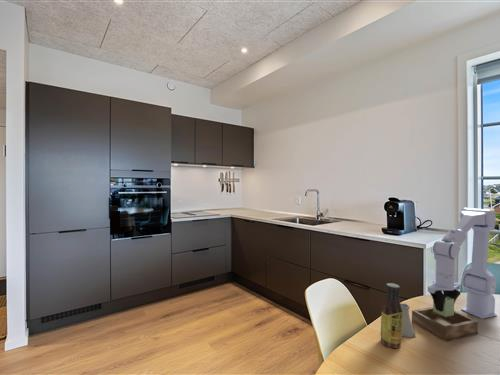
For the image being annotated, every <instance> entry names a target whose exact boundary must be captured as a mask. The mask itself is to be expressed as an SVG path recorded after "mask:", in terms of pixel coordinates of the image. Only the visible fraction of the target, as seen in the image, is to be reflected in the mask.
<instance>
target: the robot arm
mask: <svg viewBox="0 0 500 375" xmlns="http://www.w3.org/2000/svg"><path fill="white" fill-rule="evenodd" d="M459 218H460V220H459V221H458V223H457V225H456V226H455V228H450V229H449V230H448V231H447V232H446V233H445V235H444V236H443V237H442V238H441V240H437V241H435V242H434V243H433V246H432V253H433V257H434V261H435V276H434V277H435V280H434V281H432V284H431V285H428V286H427V292H428V293H429V294H430V296H431V298H432V301H434V304H435V308H436V310H438V311H440V312H442V311H443V306H444V301H445V299H446V297H447V296H448V297H450V298H453V299H454V304H455V303H456V301H457V299H458V297H460V295H461V291H459V290H461V289H462V286H463V287H464V290H465V291H466V306H465V307H461V308H460V310H461V311H464V312H465V313H468V314H471V315H473V316H475V317H477V318H479V319H486V318H491V317H495V316H498V313H496V312H495V311H496V309H495V308H496V299H495V296H494V295H493V294H495V293H496V290H497V282H496V276H495V275H494V274H493V273H491V272H490V271H489V270H488V269H487V268H488V259H489V257H488V256H489V246H490V245H489V243H490V232H491V231H493V230H495V227H496V220H497V218H496V213H495V212H494V210H492V209H483V208H471V207H463V208H462V209H461V210H460V213H459ZM471 229H472V230H473V237H472V238H473V239H472V252H471V263H470V264H471V265H470V267H468V268H465V269H464V270H463V274H462V277H461V283H460V282H455V277H456V276H455V275H456V259H457V258H458V257H459V255H460V250H461V246H462V245H463V243H464V242H465V241H466V240H467V235H466V234H467V233H468V232H469V231H471Z"/></svg>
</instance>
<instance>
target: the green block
mask: <svg viewBox="0 0 500 375" xmlns="http://www.w3.org/2000/svg"><path fill="white" fill-rule="evenodd" d="M432 301H433V300H432ZM432 307H433V311H434V312H436V313H438V314H440V315H442V316H444V317H447V316H452V315H454V311H455V303H454V299H453V298H450V297H448V296H447V297H446V299H445V301H444V306H443V311H442V312H440V311H438V310H436V308H435V304H434V301H433V305H432Z"/></svg>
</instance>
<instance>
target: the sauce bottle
mask: <svg viewBox="0 0 500 375" xmlns="http://www.w3.org/2000/svg"><path fill="white" fill-rule="evenodd" d="M385 286H386V294H385V296H386V297H385V298H384V300H383V301H382V303H381V315H380V316H381V318H380V341H381V343H382V345H384V346H386V347H388V348H391V349H399V348H400V347H401V344H402V338H403V336H402V316H403V311H402V308H401V304H400V303H401V301H400V290H401V287H400V285H399V284H396V283H393V282H388V283H386V284H385Z"/></svg>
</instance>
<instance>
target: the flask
mask: <svg viewBox="0 0 500 375" xmlns="http://www.w3.org/2000/svg"><path fill="white" fill-rule="evenodd" d="M400 304H401V308H402V311H403V316H402V337H404V338H405V337H406V338H413V337H414V338H415V337H416V333H415V330H414V327H413V325H412V320H411V318H410V314H409V312H410V310H409V309H410V308H411V307H410V305H409V304H407V303H403V302H400Z"/></svg>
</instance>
